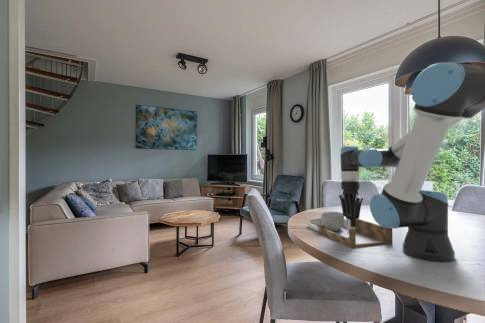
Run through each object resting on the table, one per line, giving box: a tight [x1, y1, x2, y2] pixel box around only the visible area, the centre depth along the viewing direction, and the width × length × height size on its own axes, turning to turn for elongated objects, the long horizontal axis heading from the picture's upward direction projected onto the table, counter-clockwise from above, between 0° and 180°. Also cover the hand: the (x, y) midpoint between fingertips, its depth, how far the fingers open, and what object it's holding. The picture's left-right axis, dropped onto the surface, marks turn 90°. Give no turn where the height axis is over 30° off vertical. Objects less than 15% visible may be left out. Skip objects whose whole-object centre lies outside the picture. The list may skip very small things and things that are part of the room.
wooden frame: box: [319, 218, 394, 249], centre depth 111 cm, size 22×20×7 cm
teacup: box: [320, 211, 345, 232], centre depth 126 cm, size 14×11×8 cm
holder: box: [307, 217, 348, 233], centre depth 129 cm, size 10×19×4 cm, turn 106°
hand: (351, 233), depth 112 cm, fingers closed
